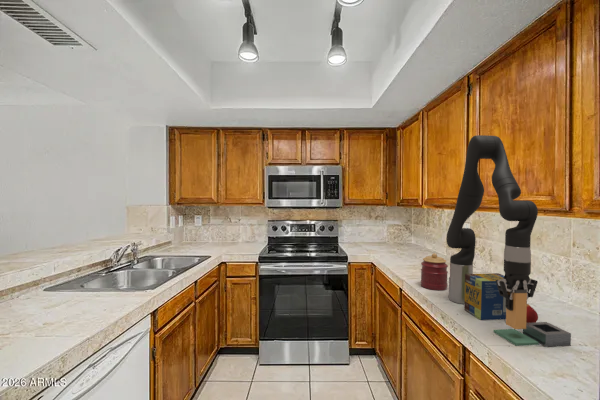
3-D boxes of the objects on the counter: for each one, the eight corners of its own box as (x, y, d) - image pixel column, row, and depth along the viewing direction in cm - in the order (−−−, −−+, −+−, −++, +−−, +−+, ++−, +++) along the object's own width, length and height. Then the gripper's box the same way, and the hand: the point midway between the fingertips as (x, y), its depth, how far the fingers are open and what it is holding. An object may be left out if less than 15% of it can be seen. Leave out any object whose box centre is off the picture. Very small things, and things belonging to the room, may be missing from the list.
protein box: (463, 310, 131) (464, 273, 130) (497, 309, 132) (498, 272, 132) (480, 320, 120) (481, 280, 120) (517, 319, 122) (518, 279, 121)
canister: (442, 283, 169) (443, 251, 168) (451, 291, 156) (452, 256, 155) (417, 282, 170) (418, 250, 169) (424, 290, 157) (425, 255, 156)
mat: (493, 331, 110) (493, 329, 110) (514, 331, 111) (514, 328, 111) (515, 345, 100) (516, 343, 100) (538, 344, 101) (538, 342, 101)
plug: (505, 324, 107) (506, 286, 107) (516, 323, 108) (517, 286, 108) (515, 329, 103) (515, 290, 103) (526, 328, 104) (526, 289, 104)
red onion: (529, 322, 119) (530, 301, 119) (541, 328, 113) (542, 307, 113) (514, 322, 119) (515, 301, 119) (526, 328, 113) (526, 307, 113)
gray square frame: (522, 334, 109) (522, 322, 109) (545, 333, 110) (546, 321, 110) (545, 346, 100) (545, 334, 100) (570, 345, 101) (571, 333, 101)
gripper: (527, 256, 110) (525, 305, 110) (489, 257, 108) (488, 306, 108) (546, 261, 102) (544, 313, 103) (506, 262, 101) (505, 314, 101)
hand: (515, 309), depth 105 cm, fingers closed on plug, 4 cm apart
